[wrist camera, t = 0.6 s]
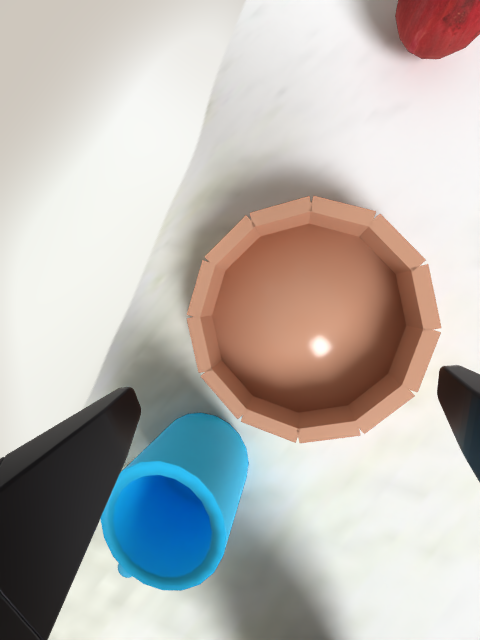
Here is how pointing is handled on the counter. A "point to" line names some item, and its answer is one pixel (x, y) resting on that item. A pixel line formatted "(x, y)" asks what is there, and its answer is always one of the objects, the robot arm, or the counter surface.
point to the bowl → (313, 320)
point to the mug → (177, 503)
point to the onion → (437, 26)
